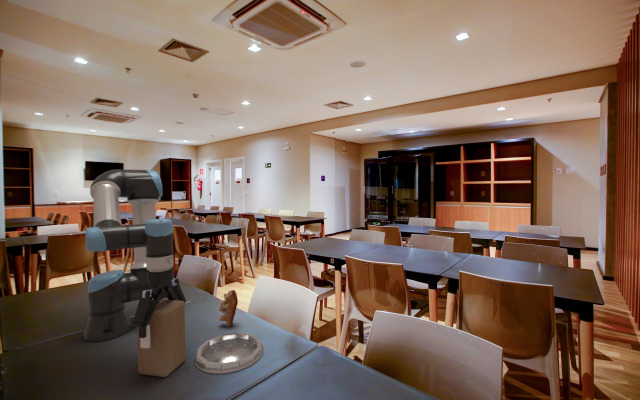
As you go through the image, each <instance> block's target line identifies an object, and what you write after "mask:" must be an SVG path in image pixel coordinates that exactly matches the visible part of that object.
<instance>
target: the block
mask: <svg viewBox="0 0 640 400" xmlns="http://www.w3.org/2000/svg"><path fill="white" fill-rule="evenodd" d="M185 305H186V303H184V301H177V300H168V299H165V298H163V299H162V300H160V301H159V303H158V304H157V305H156V307H155V309H154V311H153V313H152V316H151V318H150V320H149V322H148V324H147V325H150V348H140V338H139V328H138V327H136V333H137V334H136V336H137V337H136V339H137V342H136V343H137V371H138V374H140V375H144V376H146V375H147V376H153V377H161V378H166V377H168V376H170V374H171V373H173V372H174V371H175V370H176V369H177V368H178V367H179V366H180V365H182V364H183V363H185V361H186V358H187V354H186V353H187V349H186V315H185V313H186V312H185V307H186V306H185ZM143 322H144V321H143Z"/></svg>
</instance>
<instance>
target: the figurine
mask: <svg viewBox="0 0 640 400" xmlns="http://www.w3.org/2000/svg"><path fill="white" fill-rule="evenodd" d="M223 298H224V300H222V301H221V302H220V305H219V309H218V311H219V312H221V313H223V314H221V315H220V316H219V320H218V321H220V322H225V326H226V327H231V326H233V322H234V318H235V315H236V311H237V307H238V302H239V299H238V294H237V292H236V290H235V289H232V290H229V291H228V292H227V293H224V294H223Z"/></svg>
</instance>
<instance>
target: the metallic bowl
mask: <svg viewBox="0 0 640 400" xmlns="http://www.w3.org/2000/svg"><path fill="white" fill-rule="evenodd" d="M263 353H264V346H263V344H262V343H261V339H260V338H259V337H257V336H256V335H254V334H251V333H246V332H245V333H244V332H231V333H225V334H220V335H217V336H215V337H212V338H210V339H207V340H206V341H205V342H203V344H201V345H200V346H199V347H198V348H197V352H196V354H195V356H194V365H195V367H197V369H198V370H200V371H201V372H204V373H206V374H211V375H228V374H232V373H237V372H240V371H243V370H245V369H248V368H250V367H251V366H253V365H255V364H256V363H257V362H258V361H259V360H260V359H261V358H262V356H263Z"/></svg>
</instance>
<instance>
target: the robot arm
mask: <svg viewBox="0 0 640 400" xmlns="http://www.w3.org/2000/svg"><path fill="white" fill-rule="evenodd" d="M163 193H164V192H163V183H162V179H161V177H160V173H158V171H156V170H152V169H151V170H150V169H118V168H117V169H111V170H108V171H104V172H103V173H102V174H100V175H98V176H97V177H96V178H94V180H93V181H92V183H91V185H90V188H89V194H90V196H91V198H92V199H93V227H92V226H91V227H87V228H86V229H85V248H86V251H87V252H89V253H91V252H92V253H95V252H102V253H103V252H108V251H117V250H124V249H126V250H127V249H133V259H134V261H133V264H132V265H131V267H129V268H130V269H129V272H125V270H123V269H114V270H109V271H105V272H101V273H98V274H96V275H94V276H93V277H91V278H90V279H89V280H88V283H87V284H88V286H87V287H88V288H87V293H88V314H89V315H88V319H87V323H86V326H85V328H84V331H83V339H84V340H85V341H87V342H103V341H107V340H111V339H115V338H119V337H120V336H123V335H125V334H126V333H127V332H129V331H130V330H131V328H132V327H133V328H137V327H138V328H139V338H140V348H150V325H147V324H148V322H149V320H150V318H151V316H152V313H153V311H154V309H155V307H156V305H157V304H158V303H159V301H160V300H162V299H167V300H177V301H184V304H186V302H187V300H186V297H185V295H184V293H183V289H182V288H181V285H180V280H179V278H175V270H174V268H173V267H174V243H173V242H174V241H173V240H174V239H173V238H174V237H173V236H174V234H173V233H174V227H173V221H172V220H171V219H170V218H157V214H156V205H157V204H158V202H159V201H160V198H162V197H163ZM119 198H122V199H123V198H127V199H126V200H127V204H129V205H130V206H131V212H132V214H131V215H132V216H131V217H132V218H131V219H132V224H125V225H122V218H121V210H120V202H119ZM137 301H138V303H137V306H136V307H137V308H136V311H135V313H134V317H133V320H131V319H130V317H129V314H128V313H127V309H126V304H127V303H132V302H133V303H134V302H137ZM131 321H132V322H131ZM143 321H144V322H143Z"/></svg>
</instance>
